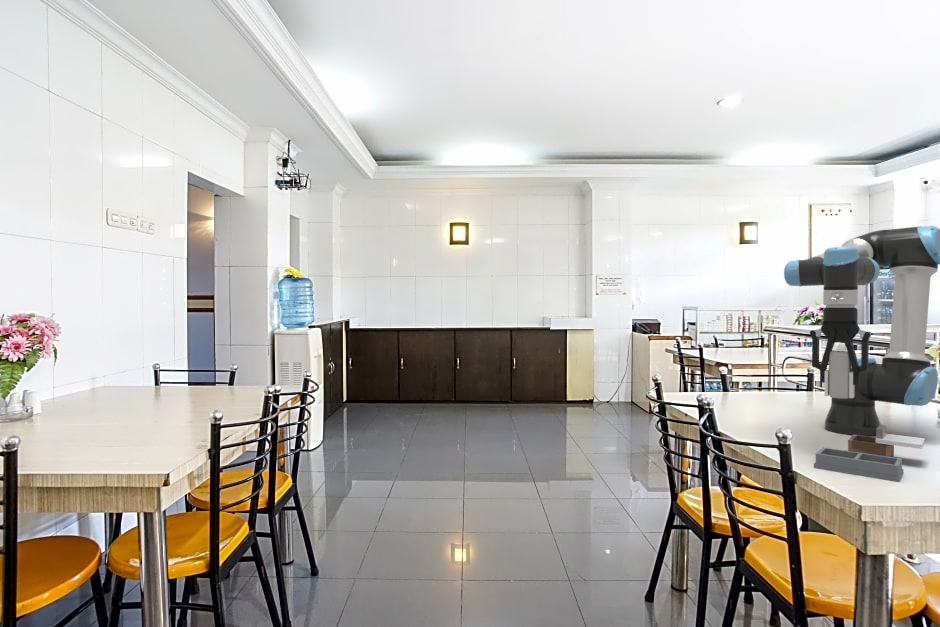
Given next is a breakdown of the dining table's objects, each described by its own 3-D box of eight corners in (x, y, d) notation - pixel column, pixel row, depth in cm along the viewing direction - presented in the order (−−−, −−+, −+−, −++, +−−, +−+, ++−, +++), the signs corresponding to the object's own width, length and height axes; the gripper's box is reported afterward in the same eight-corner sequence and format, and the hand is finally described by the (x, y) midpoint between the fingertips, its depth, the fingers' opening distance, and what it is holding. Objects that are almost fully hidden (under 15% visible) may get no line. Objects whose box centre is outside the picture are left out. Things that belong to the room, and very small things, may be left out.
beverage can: (824, 396, 151) (824, 351, 151) (836, 395, 153) (836, 350, 153) (842, 399, 147) (842, 352, 147) (854, 398, 149) (855, 351, 149)
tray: (853, 450, 159) (853, 434, 159) (893, 456, 153) (894, 439, 153) (847, 457, 152) (848, 440, 152) (889, 463, 147) (889, 445, 146)
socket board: (821, 460, 149) (821, 447, 149) (903, 473, 138) (903, 458, 138) (813, 467, 142) (814, 453, 142) (899, 481, 131) (899, 466, 131)
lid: (880, 436, 155) (880, 424, 155) (924, 442, 149) (924, 429, 149) (875, 442, 148) (875, 429, 148) (921, 448, 142) (922, 435, 142)
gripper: (798, 306, 153) (797, 394, 153) (880, 306, 141) (879, 402, 141) (804, 306, 158) (803, 391, 159) (884, 306, 147) (883, 398, 147)
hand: (839, 396), depth 150 cm, fingers closed on beverage can, 5 cm apart
